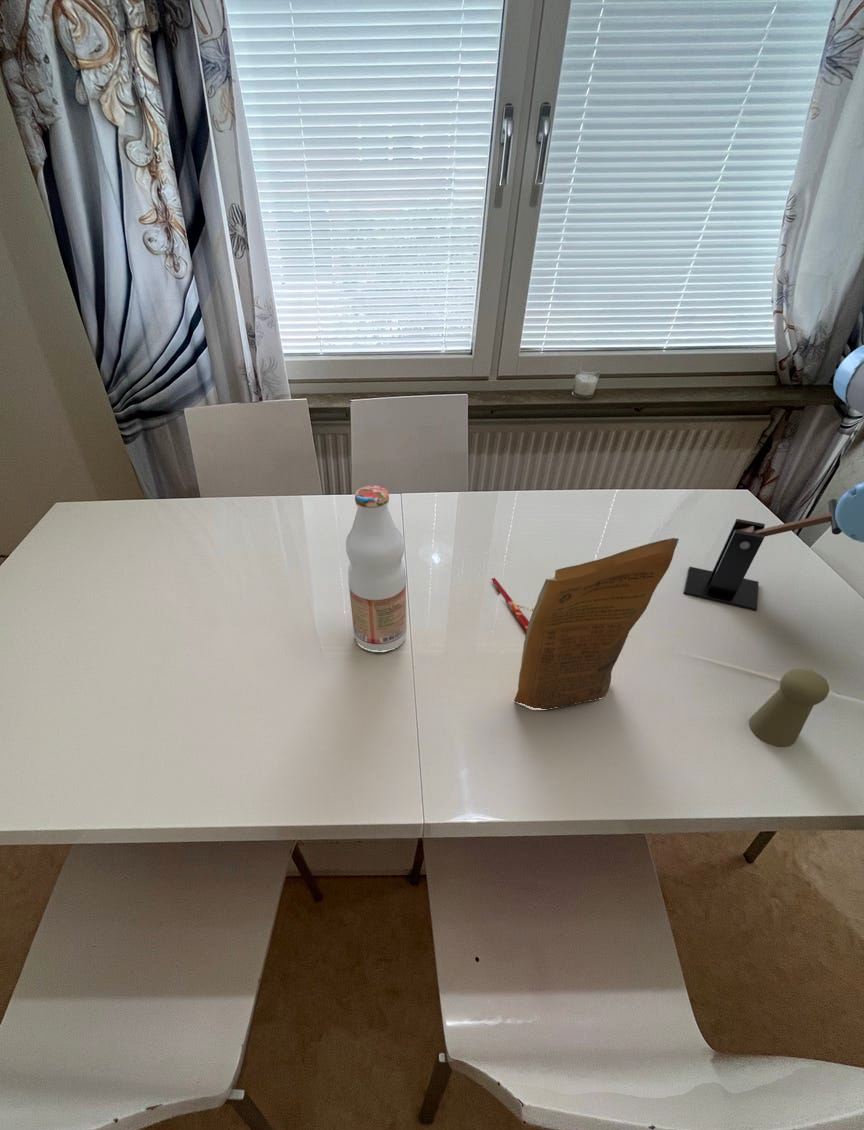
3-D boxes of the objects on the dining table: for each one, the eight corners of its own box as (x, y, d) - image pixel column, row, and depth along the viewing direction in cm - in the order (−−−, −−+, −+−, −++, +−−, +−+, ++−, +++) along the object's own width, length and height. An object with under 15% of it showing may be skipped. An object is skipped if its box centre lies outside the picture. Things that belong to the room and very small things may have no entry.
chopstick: (495, 579, 106) (496, 575, 106) (555, 660, 89) (556, 655, 88) (486, 581, 106) (487, 577, 105) (545, 662, 89) (546, 658, 88)
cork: (739, 719, 79) (772, 667, 71) (772, 709, 80) (808, 657, 72) (772, 751, 74) (812, 700, 67) (807, 740, 75) (849, 688, 68)
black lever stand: (755, 586, 101) (790, 523, 92) (754, 614, 96) (791, 549, 86) (687, 571, 106) (713, 509, 96) (681, 596, 100) (709, 532, 91)
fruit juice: (346, 648, 93) (328, 503, 75) (365, 615, 100) (353, 474, 81) (397, 659, 91) (391, 512, 72) (413, 625, 97) (412, 482, 78)
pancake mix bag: (633, 702, 82) (698, 547, 63) (516, 726, 79) (548, 573, 60) (610, 672, 87) (664, 519, 68) (499, 693, 84) (524, 542, 65)
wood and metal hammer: (838, 507, 88) (836, 494, 87) (843, 536, 81) (840, 523, 80) (739, 531, 97) (735, 520, 96) (736, 559, 91) (732, 547, 90)
